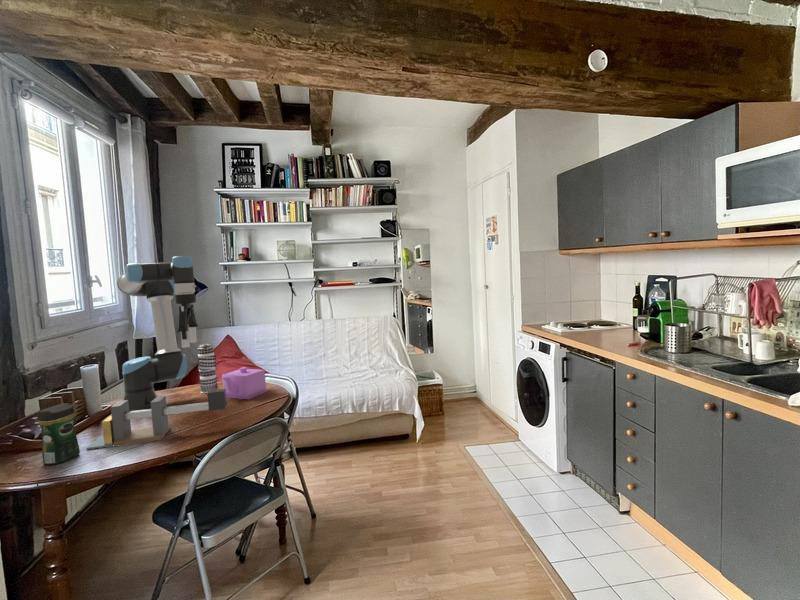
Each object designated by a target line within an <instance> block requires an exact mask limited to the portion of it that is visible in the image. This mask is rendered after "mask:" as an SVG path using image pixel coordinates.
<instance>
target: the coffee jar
mask: <svg viewBox="0 0 800 600" xmlns="http://www.w3.org/2000/svg"><path fill="white" fill-rule="evenodd" d="M75 411H76V410H75V408H74V405H73V404H72V403H67V402H66V403H60V404H57V405H53V406H50V407H46V408H44V409H41V410H39V411H38V412H37V424H38V425H39V426H40V429H41V436H42V437H41V439H42V442H41V443H42V447H41V449H42V450H41V451H42V453H41V454H42V456H41V457H42V463H43V464H45V465H47V464H52V465H57V464H58V463H59V464H61V462H62V463H64V461H65V462H67V461H69V460H71V459H73V458H75V457H77V456H79V455H80V453H81V451H80V445H79V441H78V437H77V433H76V429H75V417H76V412H75ZM66 460H67V461H66Z"/></svg>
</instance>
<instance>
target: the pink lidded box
mask: <svg viewBox="0 0 800 600" xmlns="http://www.w3.org/2000/svg"><path fill="white" fill-rule="evenodd" d="M265 370H266V369H255V368H254V369H253V368H248V366H247V367H246V366H243V367H240V368H239V369H237V370H233V371H230V372H226V373H223V374H222V375H221V376H222V377H221V379H222V389H226V397H227V398H226V399H231V398H238V399H237V400H242V399H249V400H251V399H254V398H256V397H258V396H257V395H259V396H261V395H263V394H262V393H264V394H265V392H266V393H267V385H266V384H267V383H266V371H265ZM260 394H261V395H260ZM255 396H256V397H255ZM253 397H254V398H253ZM250 398H251V399H250Z"/></svg>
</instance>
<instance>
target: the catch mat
mask: <svg viewBox="0 0 800 600" xmlns="http://www.w3.org/2000/svg"><path fill="white" fill-rule="evenodd" d="M113 445H114V443H112V444H107V445H104V437H103V435H100V436H99V437H98V438H97V439H96V440H94V441H93V442H92V443H90V445H89V446H86V450H87V449H92V450H96V449H95V448H99V449H104V448H103V447H106V448H111V447H110V446H113ZM113 447H114V446H113Z"/></svg>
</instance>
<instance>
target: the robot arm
mask: <svg viewBox="0 0 800 600" xmlns="http://www.w3.org/2000/svg"><path fill="white" fill-rule="evenodd" d="M124 270H125V273H123V274H121V275H120V276H119V277H118V279H117V282H116V284H117V285H116V286H117V289H118V290H119V291H120V292H121V293H123V294H125V295H128V296H131V297H146V300H147V302H149V303H150V305H151V312H152V319H153V326H154V327H153V328H154V333H155V335H154V336H155V343H156V349H157V351H156V353H154V358H152V357H151V356H141V357H136V358H133V359H130V360H127V361H125V362H124V363H123V364H122V367H121V368H122V372H121V373H122V377H123V378H122V379H123V388H124V389H123V390H124V391H123V392H124V396H123V399H122V400H128V403H129V411H137V410H145V409H151V401H153V400H154V399H155V398H156V397H157V393H156V391H155V388H154V384H156V383H162V382H169V381H173V380H178V379H182V378H184V377H185V375H186V373H187V369H188V359H187V355H186V354H185V353H182V350H181V349H180V348H178V344H177V337H176V336H177V335H176V327H175V323H174V322H175V321H174V314H173V308H172V302H171V301H172V300H173V299H175V304H176V305H177V304H178V305H180V306H179V307H178V311H179V312H178V313H179V315H178V329H177V332H178V333H179V332H180V341H181V348H182V349H183V348H190V346H191V345H190V343H192V344H193V343H198V338H197V329H196V328H197V327H199V326H198V323H197V318H196V313H195V308H194V303H196V302H197V298H196V297H197V296H196V294H195V292H196V289H195V288H197V285H196V284H195V275H194V274H195V273H194V263H193V258H192V256H189V255H177V256H172V258H171V262H145V263H144V262H141V263H140V262H139V263H138V262H135V263H127V264H126V265H125V269H124ZM174 296H175V298H174Z"/></svg>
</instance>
